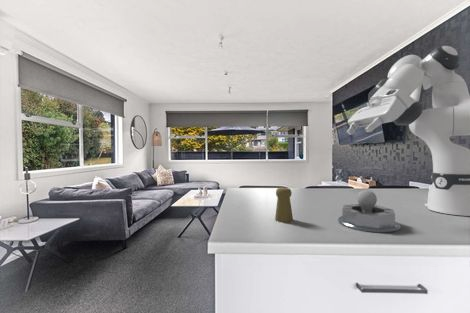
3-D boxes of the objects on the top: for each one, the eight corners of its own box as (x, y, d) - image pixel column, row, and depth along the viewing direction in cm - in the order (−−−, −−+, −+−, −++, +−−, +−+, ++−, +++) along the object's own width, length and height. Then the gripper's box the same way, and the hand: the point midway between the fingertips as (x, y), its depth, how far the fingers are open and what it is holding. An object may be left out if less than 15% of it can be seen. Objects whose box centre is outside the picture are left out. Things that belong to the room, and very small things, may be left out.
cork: (293, 222, 76) (293, 189, 76) (275, 222, 77) (274, 189, 76) (292, 217, 82) (291, 186, 81) (274, 217, 83) (274, 186, 82)
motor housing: (367, 214, 84) (367, 201, 84) (414, 229, 68) (414, 213, 68) (327, 218, 80) (327, 205, 80) (367, 235, 63) (367, 218, 63)
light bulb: (379, 224, 71) (379, 191, 71) (360, 223, 72) (360, 191, 72) (372, 219, 76) (372, 188, 76) (354, 218, 77) (354, 188, 77)
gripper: (358, 102, 88) (334, 128, 87) (403, 87, 68) (372, 121, 67) (369, 114, 89) (345, 140, 88) (417, 103, 68) (387, 136, 68)
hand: (357, 132), depth 77 cm, fingers open, 8 cm apart
